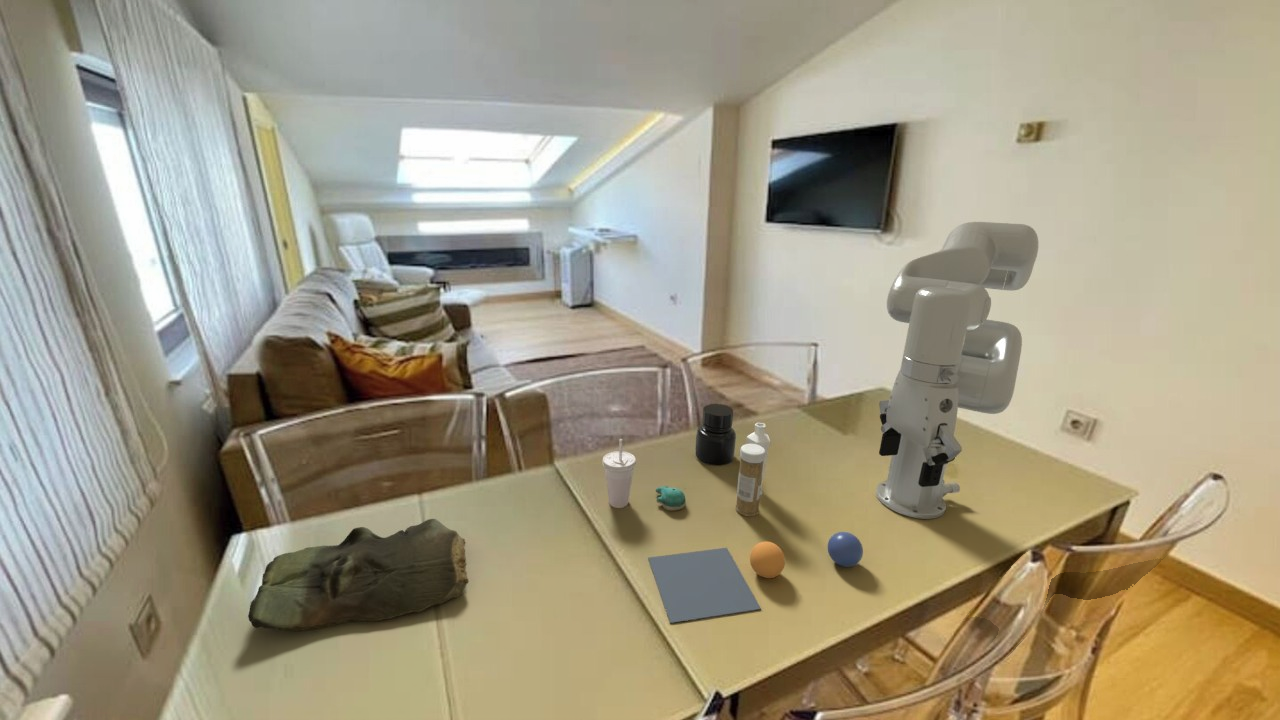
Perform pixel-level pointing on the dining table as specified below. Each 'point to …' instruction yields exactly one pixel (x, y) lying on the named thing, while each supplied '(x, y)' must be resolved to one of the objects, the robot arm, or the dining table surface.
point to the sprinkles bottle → (750, 479)
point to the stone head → (361, 578)
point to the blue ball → (845, 549)
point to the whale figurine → (671, 498)
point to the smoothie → (619, 476)
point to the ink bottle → (716, 435)
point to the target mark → (701, 585)
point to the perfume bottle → (760, 442)
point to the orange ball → (767, 559)
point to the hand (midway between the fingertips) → (907, 469)
